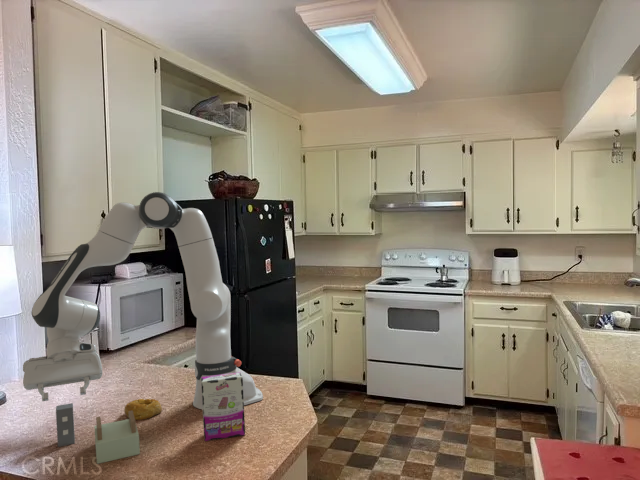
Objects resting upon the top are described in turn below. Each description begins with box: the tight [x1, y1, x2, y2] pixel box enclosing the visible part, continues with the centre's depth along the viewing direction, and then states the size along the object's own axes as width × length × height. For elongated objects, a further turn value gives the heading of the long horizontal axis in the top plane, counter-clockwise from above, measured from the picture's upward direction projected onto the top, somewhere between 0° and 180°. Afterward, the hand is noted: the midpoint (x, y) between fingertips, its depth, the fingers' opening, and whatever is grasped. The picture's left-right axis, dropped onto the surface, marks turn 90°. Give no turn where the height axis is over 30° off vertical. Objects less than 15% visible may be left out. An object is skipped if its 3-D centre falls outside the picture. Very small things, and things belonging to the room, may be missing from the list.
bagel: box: [123, 398, 163, 421], centre depth 149 cm, size 10×11×5 cm
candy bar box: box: [201, 372, 246, 442], centre depth 133 cm, size 11×5×16 cm, turn 106°
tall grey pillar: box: [55, 402, 76, 448], centre depth 131 cm, size 4×4×10 cm
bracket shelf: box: [94, 410, 141, 465], centre depth 126 cm, size 10×12×8 cm
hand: (64, 397), depth 136 cm, fingers open, 8 cm apart
